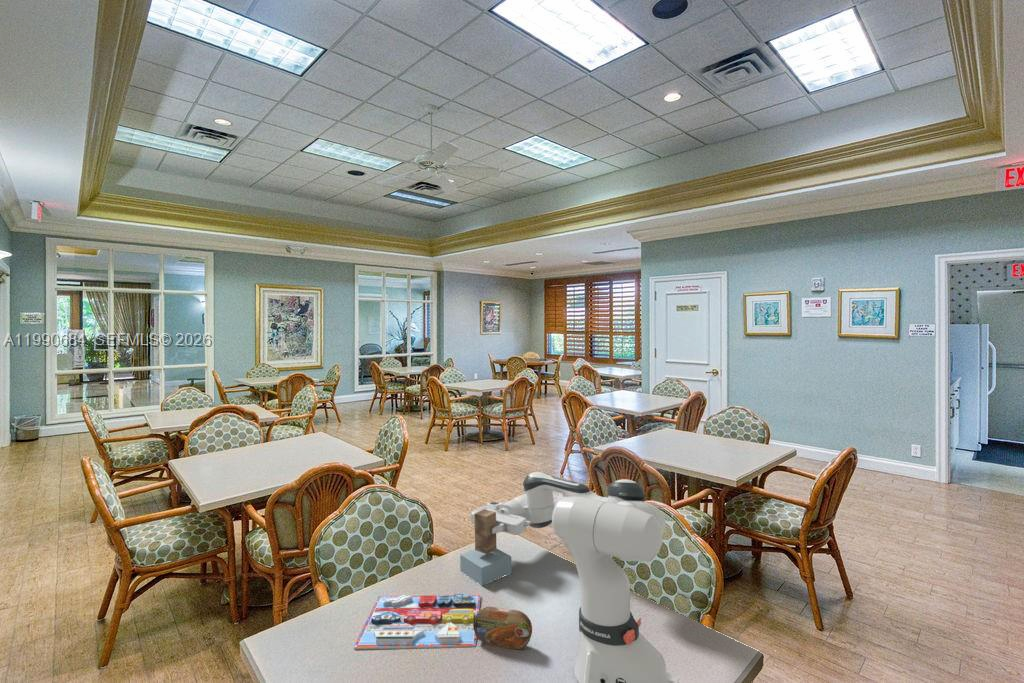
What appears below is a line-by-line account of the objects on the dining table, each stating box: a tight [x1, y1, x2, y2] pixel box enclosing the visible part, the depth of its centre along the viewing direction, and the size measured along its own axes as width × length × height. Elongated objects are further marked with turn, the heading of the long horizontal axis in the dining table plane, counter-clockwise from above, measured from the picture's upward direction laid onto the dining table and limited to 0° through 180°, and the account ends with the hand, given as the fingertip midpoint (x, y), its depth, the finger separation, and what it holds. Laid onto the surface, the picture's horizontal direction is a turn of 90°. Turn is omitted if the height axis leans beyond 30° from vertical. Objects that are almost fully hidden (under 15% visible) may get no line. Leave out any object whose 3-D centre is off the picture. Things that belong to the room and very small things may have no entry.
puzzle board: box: [353, 593, 482, 651], centre depth 129 cm, size 30×23×3 cm
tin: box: [473, 606, 533, 650], centre depth 119 cm, size 15×3×8 cm, turn 73°
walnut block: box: [474, 509, 498, 554], centre depth 155 cm, size 5×5×12 cm
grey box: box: [459, 548, 513, 586], centre depth 155 cm, size 12×12×6 cm
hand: (483, 528), depth 154 cm, fingers closed on walnut block, 5 cm apart
